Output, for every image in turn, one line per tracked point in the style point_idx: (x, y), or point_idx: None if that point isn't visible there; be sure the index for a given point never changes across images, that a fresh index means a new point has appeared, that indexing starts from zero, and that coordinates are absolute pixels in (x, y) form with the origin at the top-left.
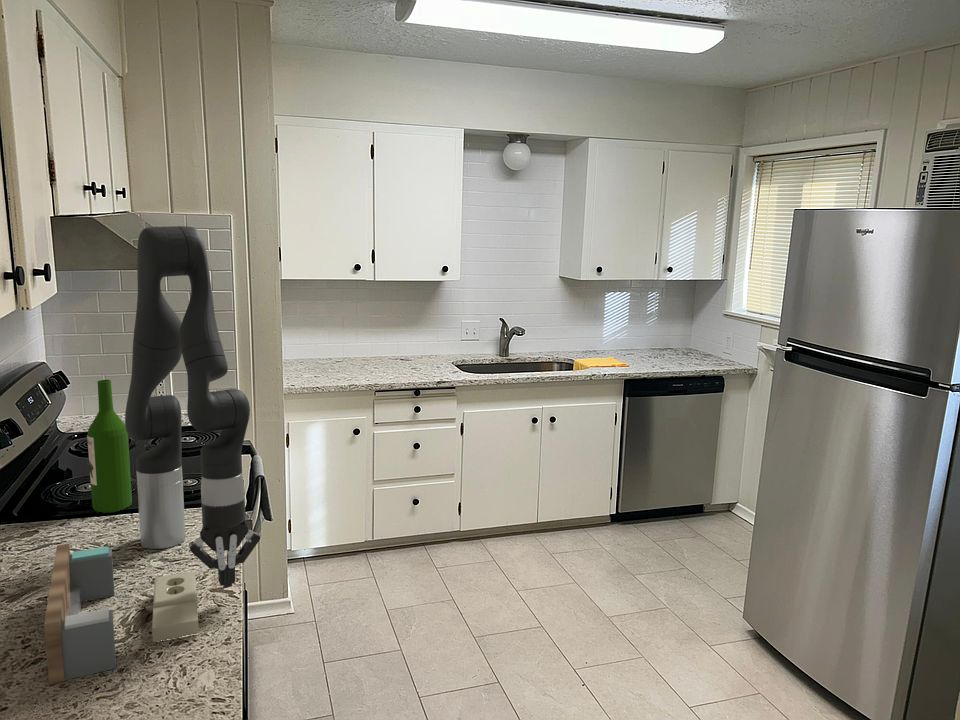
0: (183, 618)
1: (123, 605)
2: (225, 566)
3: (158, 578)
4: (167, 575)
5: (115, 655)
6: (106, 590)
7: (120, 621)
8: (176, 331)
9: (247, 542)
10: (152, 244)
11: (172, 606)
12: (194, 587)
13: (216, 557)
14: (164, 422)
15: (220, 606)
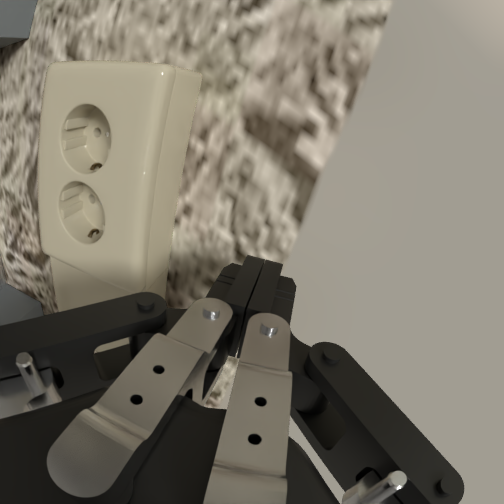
0: (113, 347)
1: (32, 98)
2: (221, 371)
3: (49, 83)
4: (73, 68)
5: (39, 313)
6: (6, 40)
7: (26, 180)
8: None
9: (368, 465)
10: None
11: (86, 275)
12: (135, 234)
13: (172, 333)
14: None
15: (240, 263)
